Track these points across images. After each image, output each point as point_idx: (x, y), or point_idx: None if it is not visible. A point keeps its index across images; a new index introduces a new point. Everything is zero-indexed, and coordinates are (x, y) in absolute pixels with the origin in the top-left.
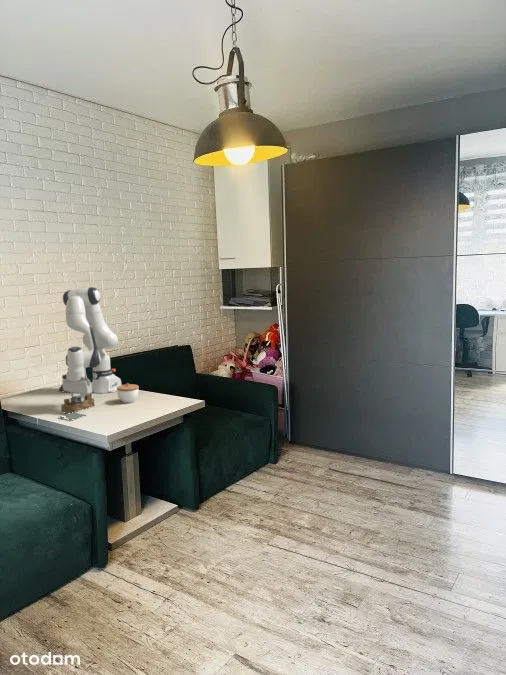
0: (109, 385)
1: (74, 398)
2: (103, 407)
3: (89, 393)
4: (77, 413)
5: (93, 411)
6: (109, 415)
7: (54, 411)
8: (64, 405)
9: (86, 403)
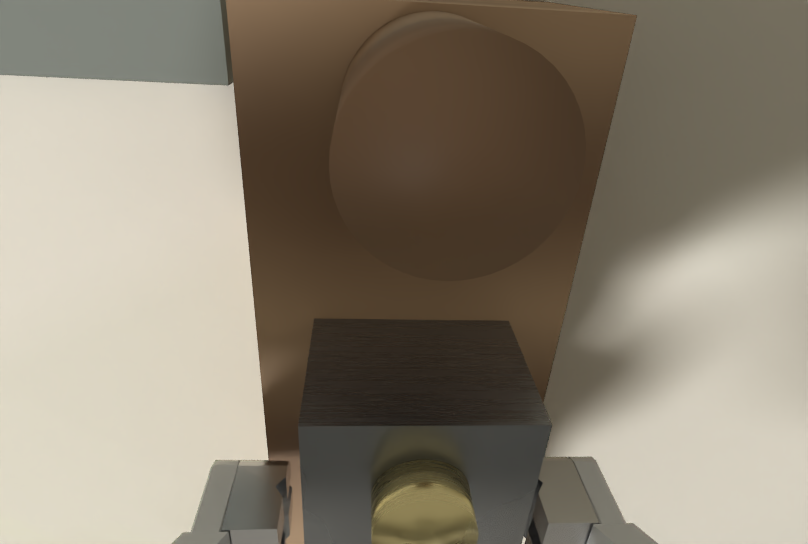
0: None
1: (339, 430)
2: (126, 540)
3: None
4: (48, 62)
5: (27, 359)
6: None
7: (791, 9)
8: (460, 4)
9: None
